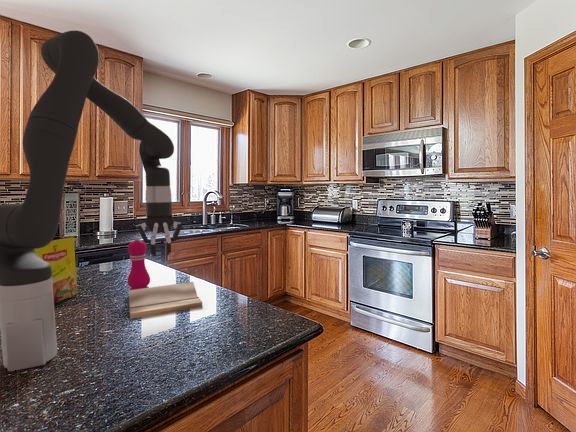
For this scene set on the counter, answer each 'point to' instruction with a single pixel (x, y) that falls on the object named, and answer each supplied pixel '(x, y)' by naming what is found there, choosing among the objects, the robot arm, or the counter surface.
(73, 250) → the food package
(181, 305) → the oak plank
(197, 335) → the counter surface
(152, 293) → the ash plank
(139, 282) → the pepper mill
